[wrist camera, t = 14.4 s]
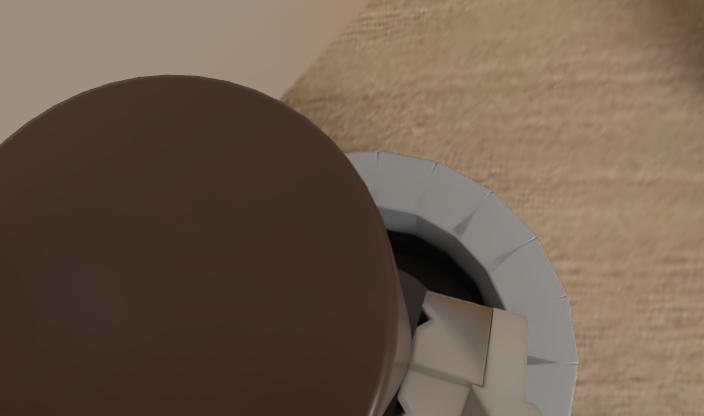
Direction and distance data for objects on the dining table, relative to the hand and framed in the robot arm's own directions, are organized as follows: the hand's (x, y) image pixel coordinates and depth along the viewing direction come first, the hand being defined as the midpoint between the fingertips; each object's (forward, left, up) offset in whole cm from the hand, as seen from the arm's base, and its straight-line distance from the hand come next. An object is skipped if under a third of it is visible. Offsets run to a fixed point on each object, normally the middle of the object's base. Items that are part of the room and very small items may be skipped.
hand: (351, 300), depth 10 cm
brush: (0, -1, -9) cm, 9 cm away
